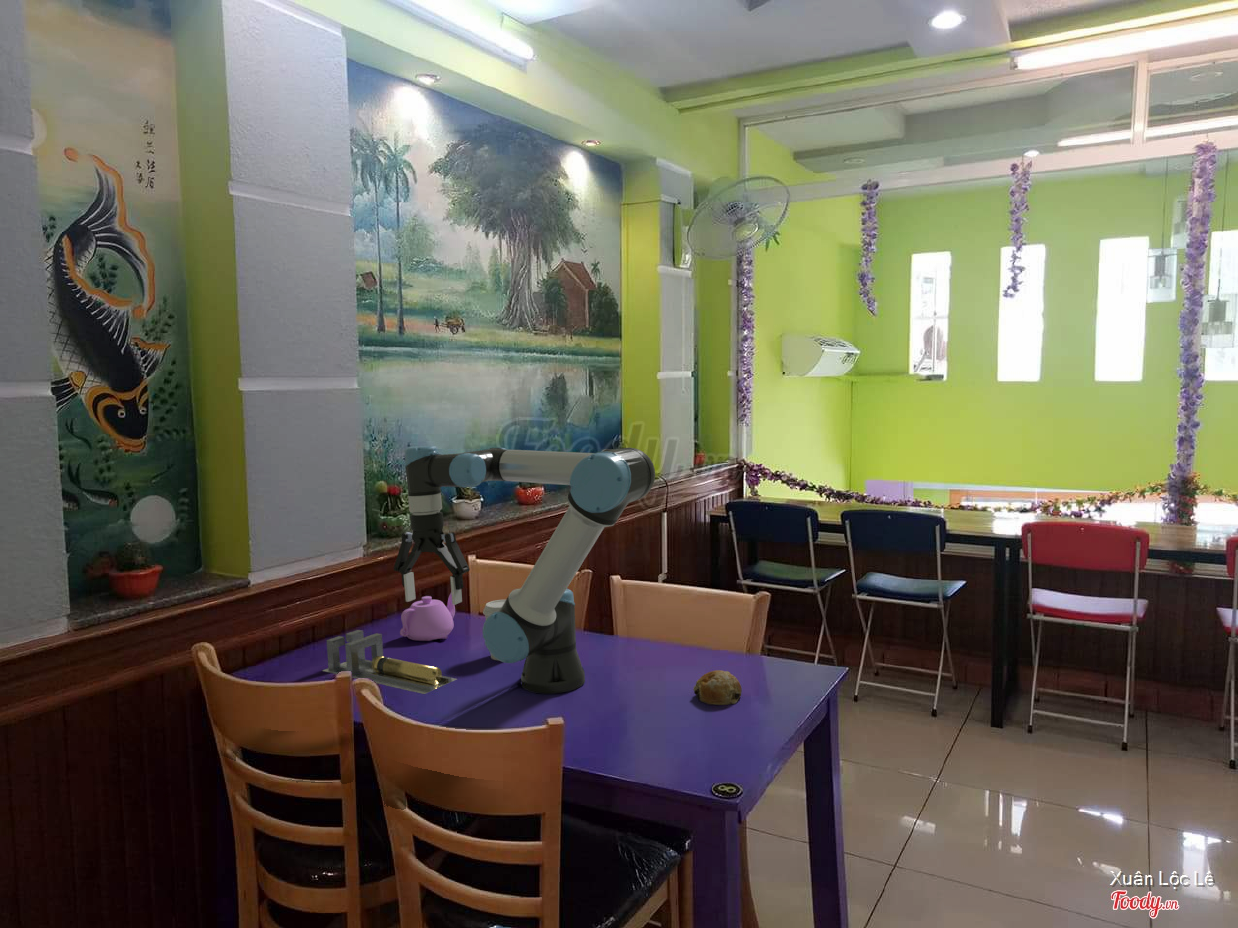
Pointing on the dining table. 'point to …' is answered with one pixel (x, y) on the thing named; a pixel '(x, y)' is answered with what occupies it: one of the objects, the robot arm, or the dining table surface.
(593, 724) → the dining table surface
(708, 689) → the bread roll
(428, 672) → the tube
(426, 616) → the teapot
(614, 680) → the dining table surface
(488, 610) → the coffee cup
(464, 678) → the dining table surface
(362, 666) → the collar base
